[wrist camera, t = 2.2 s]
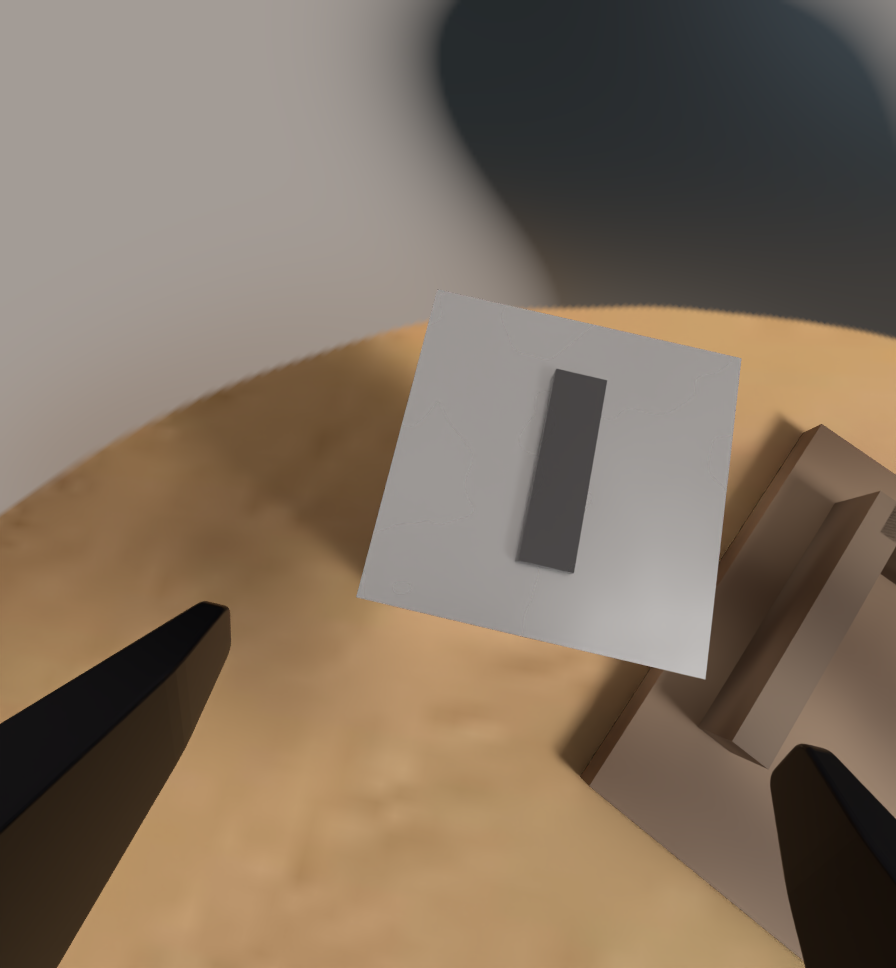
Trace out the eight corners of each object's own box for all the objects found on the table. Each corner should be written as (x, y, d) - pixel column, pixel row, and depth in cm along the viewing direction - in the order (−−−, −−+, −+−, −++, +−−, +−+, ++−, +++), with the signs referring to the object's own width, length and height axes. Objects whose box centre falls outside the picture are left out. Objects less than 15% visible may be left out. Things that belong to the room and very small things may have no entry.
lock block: (539, 640, 19) (712, 680, 7) (397, 607, 19) (354, 596, 8) (565, 501, 20) (748, 352, 9) (430, 469, 20) (437, 282, 9)
